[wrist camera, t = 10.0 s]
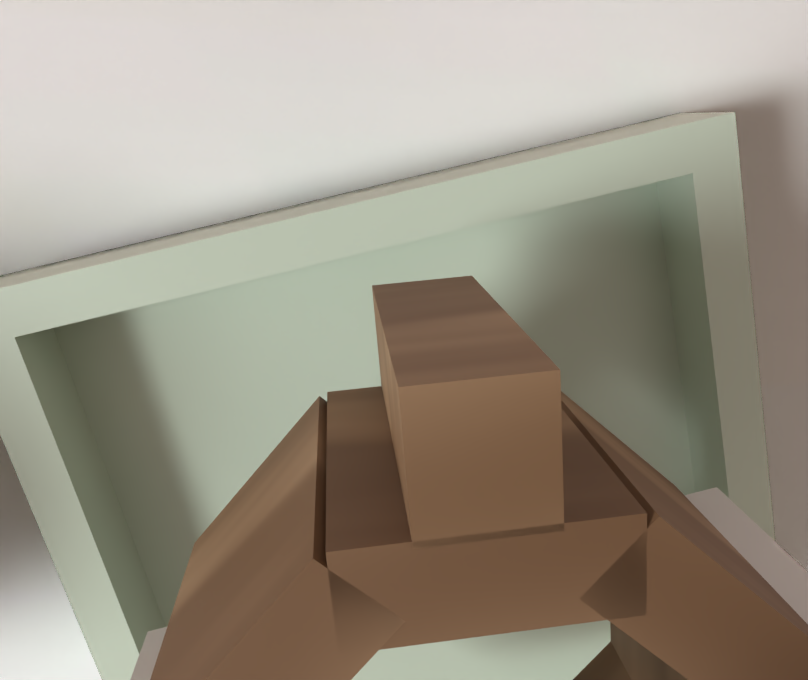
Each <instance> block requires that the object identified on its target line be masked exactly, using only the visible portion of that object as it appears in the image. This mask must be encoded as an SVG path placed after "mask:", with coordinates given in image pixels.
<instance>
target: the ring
mask: <svg viewBox="0 0 808 680" xmlns="http://www.w3.org/2000/svg"><path fill="white" fill-rule="evenodd" d="M372 292H373V303H374V313H375V324H376V334H377V345H378V355H379V366H380V376H381V386H377V387H368V388H359V389H349V390H340V391H331V392H327V401H326V400H324V399H323V398H322V397H320V396H319V397H318V398H317V399H316V401H315V402H314V403H313V404H312V405H311V406H310V408H309V409H308V410H307V411H306V412H305V413H304V415H303V416H302V417H301V418H300V419H299V421H298V422H297V423H296V424H295V425H294V426H293V428H292V429H291V430H290V431H289V432H288V433H287V435H286V436H285V437H284V438H283V439H282V441H281V442H280V443H279V444H278V445H277V446H276V448H275V449H274V450H273V451H272V452H271V453H270V455H269V456H268V457H267V458H266V459H265V461H264V462H263V463H262V464H261V465H260V466H259V468H258V469H257V470H256V471H255V472H254V473H253V475H252V476H251V477H250V478H249V479H248V481H247V482H246V483H245V484H244V485H243V486H242V488H241V489H240V490H239V491H238V492H237V493H236V495H235V496H234V497H233V498H232V499H231V501H230V502H229V503H228V504H227V505H226V506H225V508H224V509H223V510H222V511H221V512H220V513H219V515H218V516H217V517H216V518H215V519H214V521H213V522H212V523H211V524H210V525H209V526H208V528H207V529H206V530H205V531H204V532H203V533H202V535H201V536H200V537H199V538H198V539H197V541H196V542H195V543H194V546H193V549H192V552H191V555H190V558H189V561H188V564H187V568H186V571H185V574H184V577H183V580H182V583H181V586H180V589H179V592H178V595H177V598H176V601H175V605H174V608H173V611H172V614H171V617H170V620H169V623H168V626H167V629H166V632H165V635H164V638H163V642H162V645H161V648H160V651H159V654H158V657H157V660H156V663H155V666H154V669H153V672H152V675H151V679H150V680H351V679H352V678H353V677H354V676H355V675H356V674H357V673H358V672H359V671H360V670H361V669H362V668H363V667H364V665H365V664H366V663H367V662H368V661H369V660H370V659H371V658H372V657H373V656H374V655H375V654H376V653H377V651H378V650H382V649H390V648H397V647H405V646H412V645H420V644H428V643H435V642H443V641H451V640H458V639H466V638H474V637H481V636H489V635H496V634H504V633H512V632H519V631H527V630H535V629H542V628H550V627H558V626H565V625H573V624H580V623H588V622H596V621H603V620H608V621H610V629H611V641H610V642H609V643H608V644H607V646H606V647H605V648H604V649H603V650H602V651H601V652H600V653H599V654H598V655H597V656H596V657H595V658H594V659H593V660H592V661H591V662H590V663H589V664H588V665H587V666H586V667H585V668H584V669H583V670H582V671H581V672H580V673H579V674H578V675H577V676H576V677H575V678H574V679H573V680H808V624H807V623H806V622H805V621H804V620H803V619H802V618H801V617H800V616H799V615H798V614H797V613H796V612H795V611H794V609H793V608H792V607H791V606H790V605H789V604H788V603H787V602H786V601H785V600H784V599H783V598H782V597H781V596H780V595H779V594H778V593H777V592H776V591H775V590H774V589H773V587H772V586H771V585H770V584H769V583H768V582H767V581H766V580H765V579H764V578H763V577H762V576H761V575H760V574H759V573H758V572H757V571H756V570H755V569H754V568H753V567H752V566H751V564H750V563H749V562H748V561H747V560H746V559H745V558H744V557H743V556H742V555H741V554H740V553H739V552H738V551H737V550H736V549H735V548H734V547H733V546H732V545H731V544H730V543H729V541H728V540H727V539H726V538H725V537H724V536H723V535H722V534H721V533H720V532H719V531H718V530H717V529H716V528H715V527H714V526H713V525H712V524H711V523H710V522H709V521H708V519H707V518H706V517H705V516H704V515H703V514H702V513H701V512H700V511H699V510H698V509H697V508H696V507H695V506H694V505H693V504H692V503H691V502H690V501H689V500H688V499H687V498H686V496H685V495H684V494H683V493H682V492H681V491H680V490H679V489H678V488H677V487H676V486H675V485H674V484H673V483H671V482H670V481H669V480H668V479H667V478H665V477H664V476H663V475H662V474H661V473H659V472H658V471H657V470H656V469H655V468H653V467H652V466H651V465H650V464H649V463H647V462H646V461H645V460H644V459H642V458H641V457H640V456H639V455H638V454H636V453H635V452H634V451H633V450H632V449H630V448H629V447H628V446H627V445H626V444H624V443H623V442H622V441H621V440H620V439H618V438H617V437H616V436H615V435H614V434H612V433H611V432H610V431H609V430H607V429H606V428H605V427H604V426H603V425H601V424H600V423H599V422H598V421H597V420H595V419H594V418H593V417H592V416H591V415H589V414H588V413H587V412H586V411H585V410H583V409H582V408H581V407H580V406H579V405H577V404H576V403H575V402H574V401H573V400H571V399H570V398H569V397H568V396H566V395H565V394H564V393H563V392H562V391H561V376H560V369H559V368H558V367H557V366H556V365H555V364H554V362H553V361H552V360H551V359H550V358H549V357H548V356H547V355H546V354H545V353H544V352H543V351H542V350H541V349H540V348H539V346H538V345H537V344H536V343H535V342H534V341H533V340H532V339H531V338H530V337H529V336H528V335H527V334H526V333H525V332H524V331H523V329H522V328H521V327H520V326H519V325H518V324H517V323H516V322H515V321H514V320H513V319H512V318H511V317H510V316H509V315H508V313H507V312H506V311H505V310H504V309H503V308H502V307H501V306H500V305H499V304H498V303H497V302H496V301H495V300H494V299H493V298H492V296H491V295H490V294H489V293H488V292H487V291H486V290H485V289H484V288H483V287H482V286H481V285H480V284H479V283H478V282H477V280H476V279H475V278H474V277H473V276H462V277H452V278H442V279H432V280H422V281H411V282H401V283H391V284H381V285H372Z"/></svg>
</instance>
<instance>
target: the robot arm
mask: <svg viewBox="0 0 808 680" xmlns="http://www.w3.org/2000/svg"><path fill="white" fill-rule="evenodd" d="M685 496H686V498H687V499H688V500H689V501H690V502H691V503H692V504H693V505H694V506H695V507H696V508H697V509H698V510H699V511H700V512H701V513H702V514H703V515H704V516H705V517H706V518H707V519H708V521H709V522H710V523H711V524H712V525H713V526H714V527H715V528H716V529H717V530H718V531H719V532H720V533H721V534H722V535H723V536H724V537H725V538H726V539H727V540H728V541H729V543H730V544H731V545H732V546H733V547H734V548H735V549H736V550H737V551H738V552H739V553H740V554H741V555H742V556H743V557H744V558H745V559H746V560H747V561H748V562H749V563H750V564H751V566H752V567H753V568H754V569H755V570H756V571H757V572H758V573H759V574H760V575H761V576H762V577H763V578H764V579H765V580H766V581H767V582H768V583H769V584H770V585H771V586H772V587H773V589H774V590H775V591H776V592H777V593H778V594H779V595H780V596H781V597H782V598H783V599H784V600H785V601H786V602H787V603H788V604H789V605H790V606H791V607H792V608H793V609H794V611H795V612H796V613H797V614H798V615H799V616H800V617H801V618H802V619H803V620H804V621H805V622H806V623H807V624H808V572H807V571H806V570H805V569H804V568H803V567H802V566H801V565H800V564H799V563H798V562H797V561H796V560H795V559H793V558H792V557H791V556H790V555H789V554H788V553H787V552H786V551H785V550H784V549H783V548H782V547H781V546H780V545H778V544H777V543H776V542H775V541H774V540H773V539H772V538H771V537H770V536H769V535H768V534H767V533H766V532H765V531H763V530H762V529H761V528H760V527H759V526H758V525H757V524H756V523H755V522H754V521H753V520H752V519H751V518H750V517H748V516H747V515H746V514H745V513H744V512H743V511H742V510H741V509H740V508H739V507H738V506H737V505H736V504H735V503H733V502H732V501H731V500H730V499H729V498H728V497H727V496H726V495H725V494H724V493H723V492H722V491H721V490H720V489H718V488H717V487H715V488H711V489H707V490H703V491H699V492H695V493H691V494H687V495H685ZM166 629H167V627H164V628H160V629H156V630H152V631H148V632H147V635H146V638H145V640H144V643H143V646H142V649H141V651H140V654H139V657H138V660H137V663H136V665H135V668H134V671H133V674H132V677H131V679H130V680H150V679H151V675H152V672H153V669H154V666H155V663H156V660H157V657H158V654H159V651H160V648H161V645H162V642H163V638H164V635H165V632H166Z"/></svg>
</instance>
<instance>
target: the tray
mask: <svg viewBox="0 0 808 680" xmlns="http://www.w3.org/2000/svg"><path fill="white" fill-rule="evenodd" d="M462 276H473V277H474V278H475V279H476V280H477V282H478V283H479V284H480V285H481V286H482V287H483V288H484V289H485V290H486V291H487V292H488V293H489V294H490V295H491V296H492V298H493V299H494V300H495V301H496V302H497V303H498V304H499V305H500V306H501V307H502V308H503V309H504V310H505V311H506V312H507V313H508V315H509V316H510V317H511V318H512V319H513V320H514V321H515V322H516V323H517V324H518V325H519V326H520V327H521V328H522V329H523V331H524V332H525V333H526V334H527V335H528V336H529V337H530V338H531V339H532V340H533V341H534V342H535V343H536V344H537V345H538V346H539V348H540V349H541V350H542V351H543V352H544V353H545V354H546V355H547V356H548V357H549V358H550V359H551V360H552V361H553V362H554V364H555V365H556V366H557V367H558V368H559V369H560V376H561V391H562V392H563V393H564V394H565V395H566V396H568V397H569V398H570V399H571V400H573V401H574V402H575V403H576V404H577V405H579V406H580V407H581V408H582V409H583V410H585V411H586V412H587V413H588V414H589V415H591V416H592V417H593V418H594V419H595V420H597V421H598V422H599V423H600V424H601V425H603V426H604V427H605V428H606V429H607V430H609V431H610V432H611V433H612V434H614V435H615V436H616V437H617V438H618V439H620V440H621V441H622V442H623V443H624V444H626V445H627V446H628V447H629V448H630V449H632V450H633V451H634V452H635V453H636V454H638V455H639V456H640V457H641V458H642V459H644V460H645V461H646V462H647V463H649V464H650V465H651V466H652V467H653V468H655V469H656V470H657V471H658V472H659V473H661V474H662V475H663V476H664V477H665V478H667V479H668V480H669V481H670V482H671V483H673V484H674V485H675V486H676V487H677V488H678V489H679V490H680V491H681V492H682V493H683V494H684V495H687V494H691V493H695V492H699V491H703V490H707V489H711V488H715V487H717V488H718V489H720V490H721V491H722V492H723V493H724V494H725V495H726V496H727V497H728V498H729V499H730V500H731V501H732V502H733V503H735V504H736V505H737V506H738V507H739V508H740V509H741V510H742V511H743V512H744V513H745V514H746V515H747V516H748V517H750V518H751V519H752V520H753V521H754V522H755V523H756V524H757V525H758V526H759V527H760V528H761V529H762V530H763V531H765V532H766V533H767V534H768V535H769V536H770V537H771V538H772V539H773V540H774V541H775V532H774V521H773V511H772V500H771V489H770V479H769V468H768V457H767V447H766V436H765V425H764V415H763V404H762V393H761V383H760V372H759V361H758V351H757V340H756V329H755V319H754V308H753V297H752V287H751V276H750V265H749V255H748V244H747V233H746V223H745V212H744V201H743V191H742V180H741V169H740V159H739V148H738V137H737V127H736V116H735V112H704V113H678V114H674V115H670V116H666V117H661V118H657V119H653V120H649V121H645V122H640V123H636V124H632V125H628V126H624V127H620V128H615V129H611V130H607V131H603V132H599V133H595V134H590V135H586V136H582V137H578V138H574V139H570V140H565V141H561V142H557V143H553V144H549V145H544V146H540V147H536V148H532V149H528V150H524V151H519V152H515V153H511V154H507V155H503V156H499V157H494V158H490V159H486V160H482V161H478V162H474V163H469V164H465V165H461V166H457V167H453V168H448V169H444V170H440V171H436V172H432V173H428V174H423V175H419V176H415V177H411V178H407V179H403V180H398V181H394V182H390V183H386V184H382V185H378V186H373V187H369V188H365V189H361V190H357V191H352V192H348V193H344V194H340V195H336V196H332V197H327V198H323V199H319V200H315V201H311V202H307V203H302V204H298V205H294V206H290V207H286V208H282V209H277V210H273V211H269V212H265V213H261V214H256V215H252V216H248V217H244V218H240V219H236V220H231V221H227V222H223V223H219V224H215V225H211V226H206V227H202V228H198V229H194V230H190V231H186V232H181V233H177V234H173V235H169V236H165V237H160V238H156V239H152V240H148V241H144V242H140V243H135V244H131V245H127V246H123V247H119V248H115V249H110V250H106V251H102V252H98V253H94V254H90V255H85V256H81V257H77V258H73V259H69V260H64V261H60V262H56V263H52V264H48V265H44V266H39V267H35V268H31V269H27V270H23V271H19V272H14V273H10V274H6V275H2V276H0V436H1V438H2V440H3V443H4V445H5V448H6V450H7V453H8V455H9V457H10V460H11V462H12V465H13V467H14V469H15V472H16V474H17V477H18V479H19V481H20V484H21V486H22V489H23V491H24V493H25V496H26V498H27V501H28V503H29V505H30V508H31V510H32V513H33V515H34V517H35V520H36V522H37V525H38V527H39V529H40V532H41V534H42V537H43V539H44V541H45V544H46V546H47V549H48V551H49V553H50V556H51V558H52V561H53V563H54V565H55V568H56V570H57V573H58V575H59V577H60V580H61V582H62V585H63V587H64V589H65V592H66V594H67V597H68V599H69V602H70V604H71V606H72V609H73V611H74V614H75V616H76V618H77V621H78V623H79V626H80V628H81V630H82V633H83V635H84V638H85V640H86V642H87V645H88V647H89V650H90V652H91V654H92V657H93V659H94V662H95V664H96V666H97V669H98V671H99V674H100V676H101V678H102V680H130V679H131V677H132V674H133V671H134V668H135V665H136V663H137V660H138V657H139V654H140V651H141V649H142V646H143V643H144V640H145V638H146V635H147V632H148V631H152V630H156V629H160V628H164V627H167V626H168V623H169V620H170V617H171V614H172V611H173V608H174V605H175V601H176V598H177V595H178V592H179V589H180V586H181V583H182V580H183V577H184V574H185V571H186V568H187V564H188V561H189V558H190V555H191V552H192V549H193V546H194V543H195V542H196V541H197V539H198V538H199V537H200V536H201V535H202V533H203V532H204V531H205V530H206V529H207V528H208V526H209V525H210V524H211V523H212V522H213V521H214V519H215V518H216V517H217V516H218V515H219V513H220V512H221V511H222V510H223V509H224V508H225V506H226V505H227V504H228V503H229V502H230V501H231V499H232V498H233V497H234V496H235V495H236V493H237V492H238V491H239V490H240V489H241V488H242V486H243V485H244V484H245V483H246V482H247V481H248V479H249V478H250V477H251V476H252V475H253V473H254V472H255V471H256V470H257V469H258V468H259V466H260V465H261V464H262V463H263V462H264V461H265V459H266V458H267V457H268V456H269V455H270V453H271V452H272V451H273V450H274V449H275V448H276V446H277V445H278V444H279V443H280V442H281V441H282V439H283V438H284V437H285V436H286V435H287V433H288V432H289V431H290V430H291V429H292V428H293V426H294V425H295V424H296V423H297V422H298V421H299V419H300V418H301V417H302V416H303V415H304V413H305V412H306V411H307V410H308V409H309V408H310V406H311V405H312V404H313V403H314V402H315V401H316V399H317V398H318V397H319V396H320V397H322V398H323V399H324V400H326V401H327V392H331V391H340V390H349V389H359V388H368V387H377V386H381V376H380V366H379V355H378V345H377V334H376V324H375V313H374V303H373V292H372V285H381V284H391V283H401V282H411V281H422V280H432V279H442V278H452V277H462ZM610 641H611V629H610V621H608V620H603V621H596V622H588V623H580V624H573V625H565V626H558V627H550V628H542V629H535V630H527V631H519V632H512V633H504V634H496V635H489V636H481V637H474V638H466V639H458V640H451V641H443V642H435V643H428V644H420V645H412V646H405V647H397V648H390V649H382V650H378V651H377V653H376V654H375V655H374V656H373V657H372V658H371V659H370V660H369V661H368V662H367V663H366V664H365V665H364V667H363V668H362V669H361V670H360V671H359V672H358V673H357V674H356V675H355V676H354V677H353V678H352V679H351V680H573V679H574V678H575V677H576V676H577V675H578V674H579V673H580V672H581V671H582V670H583V669H584V668H585V667H586V666H587V665H588V664H589V663H590V662H591V661H592V660H593V659H594V658H595V657H596V656H597V655H598V654H599V653H600V652H601V651H602V650H603V649H604V648H605V647H606V646H607V644H608V643H609V642H610Z"/></svg>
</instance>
